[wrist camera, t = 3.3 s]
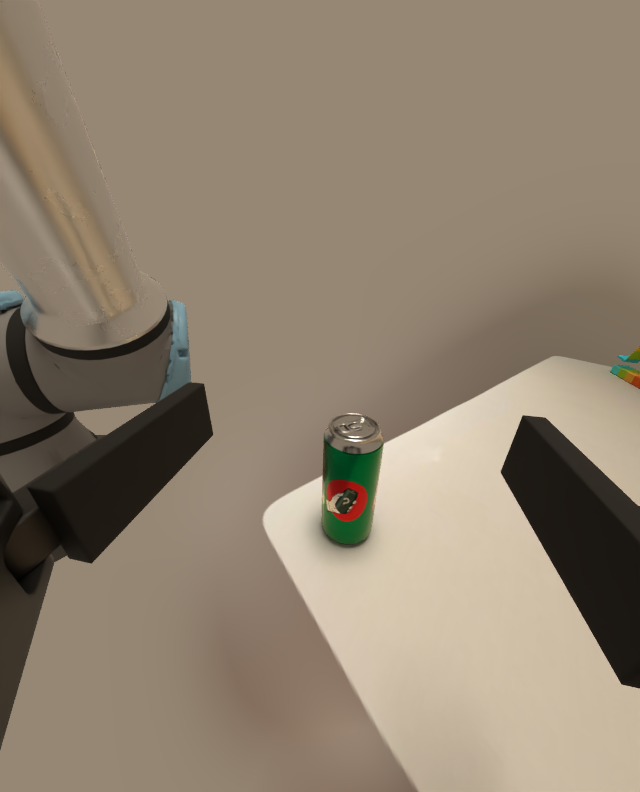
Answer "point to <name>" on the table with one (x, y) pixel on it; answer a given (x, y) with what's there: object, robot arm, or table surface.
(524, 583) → the table surface
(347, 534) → the soda can
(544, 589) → the table surface
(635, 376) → the chart
